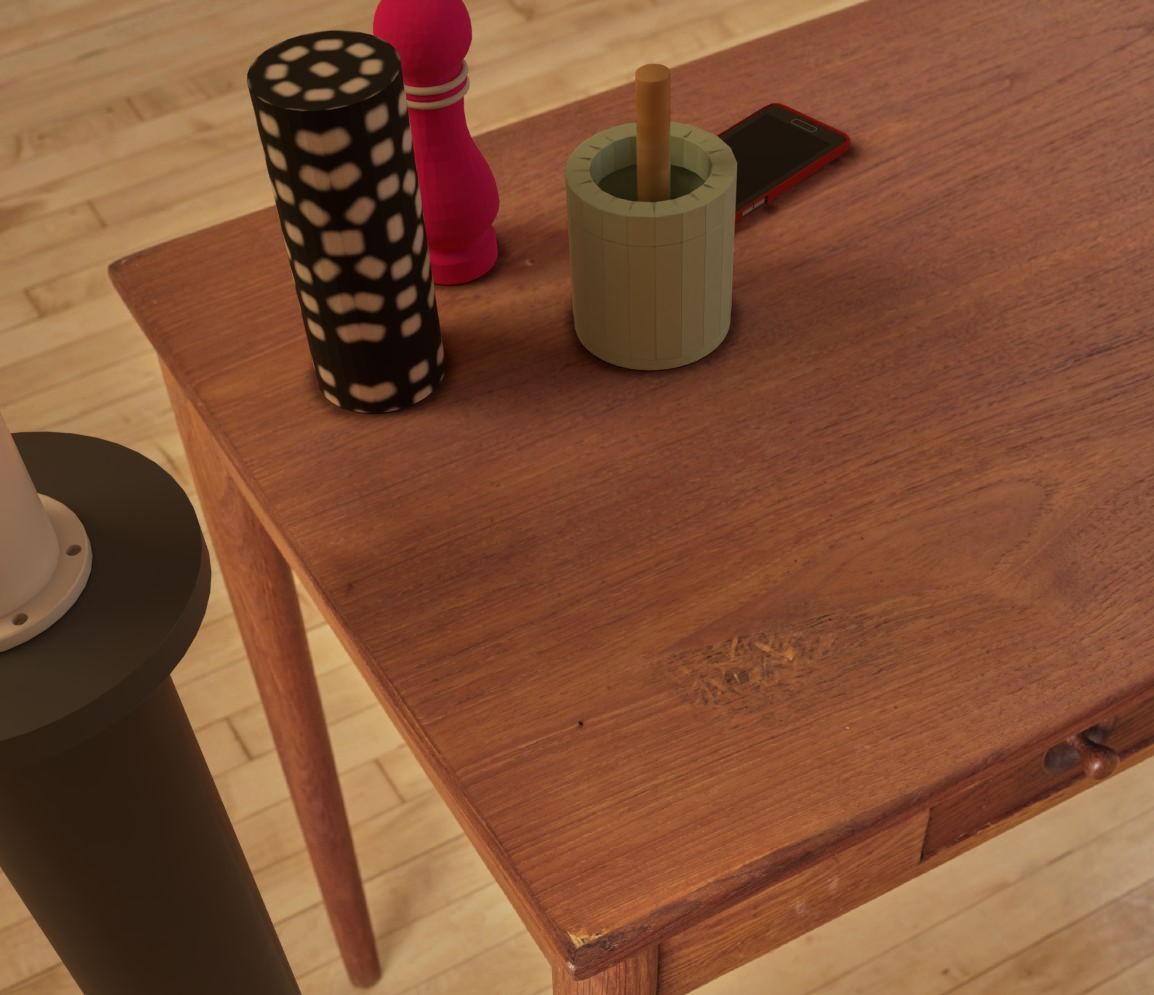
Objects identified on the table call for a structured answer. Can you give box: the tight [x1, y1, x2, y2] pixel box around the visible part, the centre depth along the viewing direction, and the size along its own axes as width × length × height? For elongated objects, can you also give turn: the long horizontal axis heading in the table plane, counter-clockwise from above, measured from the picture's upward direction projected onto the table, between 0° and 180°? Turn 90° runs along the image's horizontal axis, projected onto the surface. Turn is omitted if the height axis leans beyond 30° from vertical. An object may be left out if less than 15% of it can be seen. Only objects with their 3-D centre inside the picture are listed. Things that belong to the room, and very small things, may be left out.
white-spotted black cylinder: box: [246, 29, 446, 414], centre depth 88 cm, size 8×8×20 cm
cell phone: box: [716, 102, 851, 224], centre depth 107 cm, size 8×15×1 cm, turn 134°
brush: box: [634, 63, 672, 202], centre depth 91 cm, size 4×4×16 cm
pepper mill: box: [372, 0, 501, 286], centre depth 95 cm, size 7×7×20 cm
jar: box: [564, 121, 737, 371], centre depth 94 cm, size 10×10×11 cm
